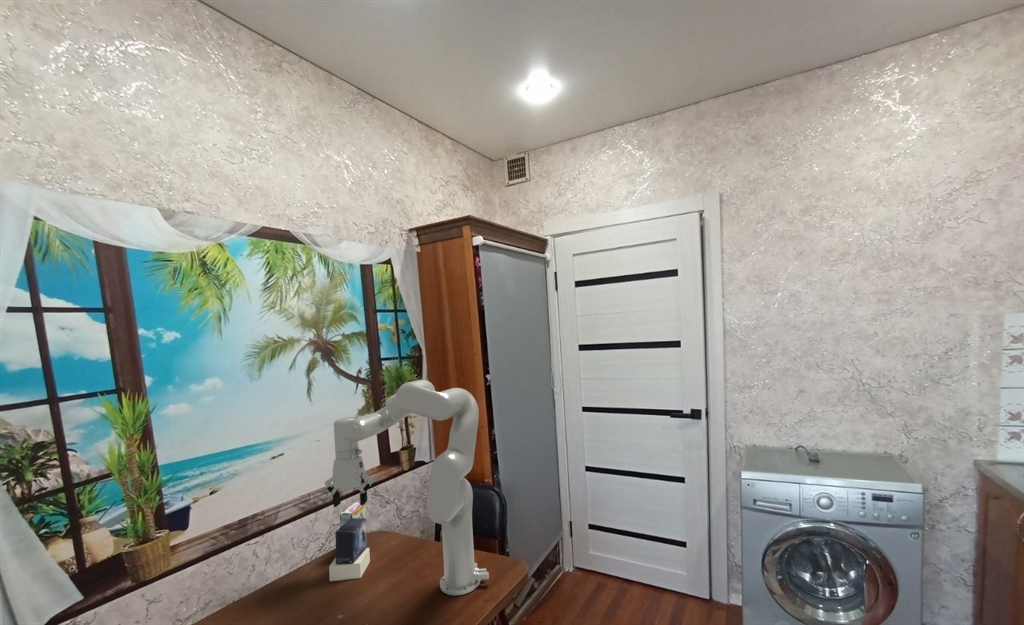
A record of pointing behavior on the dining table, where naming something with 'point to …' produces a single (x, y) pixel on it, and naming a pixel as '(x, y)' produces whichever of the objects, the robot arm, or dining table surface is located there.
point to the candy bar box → (353, 513)
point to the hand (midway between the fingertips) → (350, 504)
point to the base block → (350, 568)
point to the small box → (351, 540)
